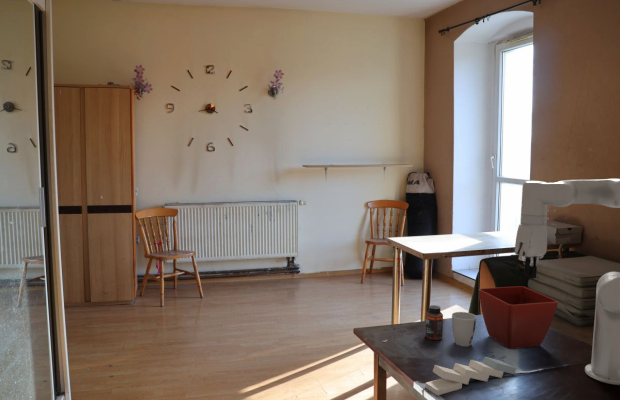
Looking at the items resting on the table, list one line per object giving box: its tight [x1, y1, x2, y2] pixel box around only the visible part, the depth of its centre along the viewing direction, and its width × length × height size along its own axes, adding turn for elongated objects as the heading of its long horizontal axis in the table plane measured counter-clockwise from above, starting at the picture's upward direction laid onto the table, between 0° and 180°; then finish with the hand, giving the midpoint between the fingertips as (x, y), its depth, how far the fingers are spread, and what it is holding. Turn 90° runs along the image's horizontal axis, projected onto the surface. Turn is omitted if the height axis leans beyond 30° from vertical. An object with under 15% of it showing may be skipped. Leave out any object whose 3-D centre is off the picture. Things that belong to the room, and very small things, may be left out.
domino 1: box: [432, 364, 471, 386], centre depth 146 cm, size 5×2×9 cm
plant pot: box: [478, 285, 559, 350], centre depth 179 cm, size 19×19×17 cm
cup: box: [451, 311, 477, 347], centre depth 176 cm, size 8×8×10 cm
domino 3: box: [452, 362, 490, 383], centre depth 149 cm, size 5×2×9 cm
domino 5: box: [482, 356, 518, 375], centre depth 153 cm, size 5×2×9 cm
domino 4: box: [468, 359, 504, 379], centre depth 151 cm, size 5×2×9 cm
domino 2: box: [425, 377, 463, 396], centre depth 144 cm, size 5×2×9 cm
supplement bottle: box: [425, 304, 444, 341], centre depth 181 cm, size 6×6×11 cm
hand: (530, 277), depth 161 cm, fingers closed
